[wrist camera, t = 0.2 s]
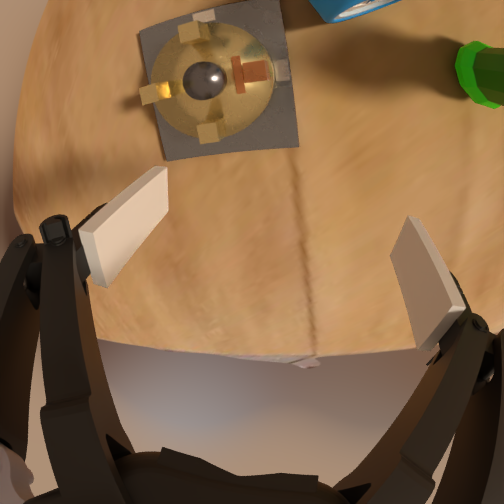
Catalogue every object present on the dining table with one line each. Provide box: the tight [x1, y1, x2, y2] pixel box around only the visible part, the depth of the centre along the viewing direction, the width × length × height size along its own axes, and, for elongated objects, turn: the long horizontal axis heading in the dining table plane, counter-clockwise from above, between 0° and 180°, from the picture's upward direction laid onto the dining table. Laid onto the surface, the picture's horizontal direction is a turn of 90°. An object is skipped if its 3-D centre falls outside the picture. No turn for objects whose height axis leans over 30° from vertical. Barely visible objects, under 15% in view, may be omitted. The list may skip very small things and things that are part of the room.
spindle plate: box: [139, 0, 299, 161], centre depth 32 cm, size 22×20×1 cm
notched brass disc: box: [139, 20, 275, 144], centre depth 29 cm, size 16×16×6 cm
